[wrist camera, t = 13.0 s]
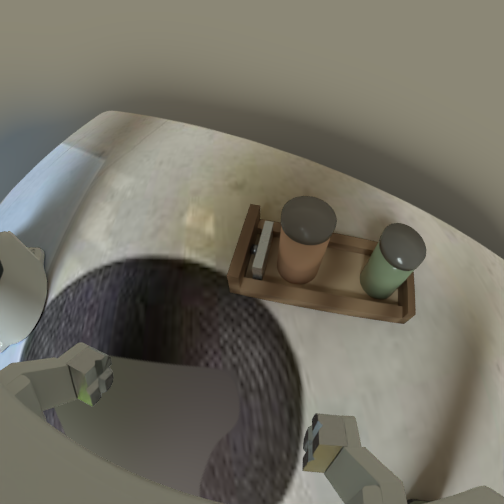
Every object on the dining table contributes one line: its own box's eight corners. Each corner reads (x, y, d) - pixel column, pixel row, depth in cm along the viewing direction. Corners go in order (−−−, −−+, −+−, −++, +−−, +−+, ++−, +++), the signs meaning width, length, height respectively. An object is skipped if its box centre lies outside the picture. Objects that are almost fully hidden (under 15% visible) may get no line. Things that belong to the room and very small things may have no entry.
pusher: (245, 279, 32) (243, 265, 29) (257, 235, 35) (257, 219, 32) (261, 282, 31) (261, 268, 29) (272, 238, 35) (273, 221, 32)
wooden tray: (230, 292, 31) (226, 275, 28) (251, 224, 36) (250, 204, 33) (403, 323, 28) (419, 311, 25) (401, 254, 33) (413, 237, 30)
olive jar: (357, 296, 30) (383, 260, 23) (359, 259, 33) (381, 218, 26) (396, 303, 29) (428, 270, 23) (395, 266, 32) (422, 229, 25)
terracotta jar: (272, 280, 32) (276, 232, 24) (280, 244, 34) (286, 192, 27) (316, 289, 31) (335, 243, 23) (321, 251, 34) (337, 201, 26)
